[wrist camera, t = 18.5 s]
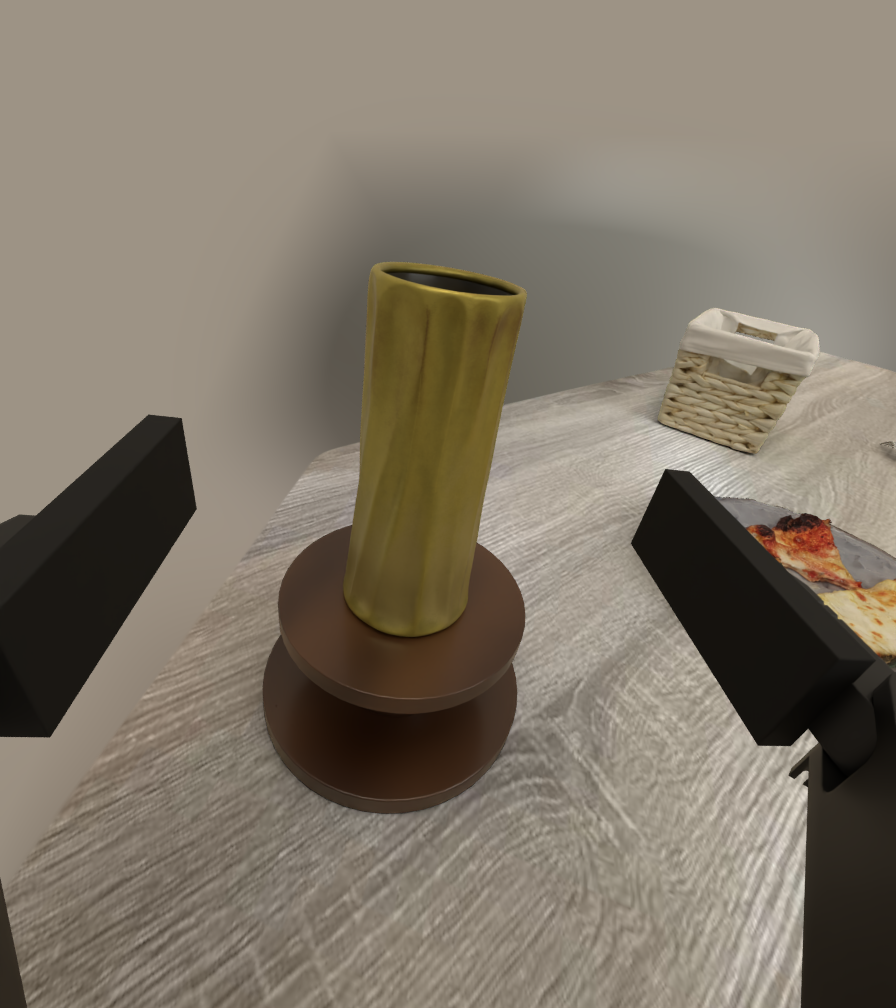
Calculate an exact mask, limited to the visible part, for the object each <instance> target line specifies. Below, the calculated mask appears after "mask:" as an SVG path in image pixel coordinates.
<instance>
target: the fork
mask: <svg viewBox="0 0 896 1008" xmlns="http://www.w3.org/2000/svg"><path fill="white" fill-rule="evenodd" d="M887 443H890V444H887ZM881 444H885V445H884V446H886V445H889V446H888V447H890V446H894V447H892V448H895V450H896V443H895V442H891V441H889V442H884V443H881Z"/></svg>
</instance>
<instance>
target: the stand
mask: <svg viewBox="0 0 896 1008" xmlns="http://www.w3.org/2000/svg"><path fill="white" fill-rule="evenodd" d="M351 531H352V525H351V526H347V527H344V528H341V529H338V530H336V531H333V532H331V533H329V534H327V535H325V536H323V537H321V538H320V539H318V540H317V541H315V542H313V543H312V544H311V545H309V546H308V547H307V548H306V549H304V550H303V551H302V552H301V553H300V554H299V555H298V556H297V558H296V559H295V560H294V561H293V563H292V564H291V565H290V567H289V568H288V570H287V572H286V574H285V576H284V578H283V580H282V584H281V587H280V591H279V599H278V612H279V624H280V632H281V635H280V637H279V638H278V640H277V642H276V643H275V645H274V647H273V649H272V651H271V654H270V656H269V658H268V661H267V665H266V669H265V673H264V681H263V704H264V714H265V720H266V724H267V729H268V733H269V735H270V738H271V740H272V743H273V745H274V747H275V749H276V751H277V752H278V754H279V756H280V757H281V759H282V761H283V762H284V764H285V765H286V766H287V767H288V768H289V769H290V771H291V772H292V773H293V774H294V775H295V776H296V777H297V778H298V779H299V780H300V781H302V782H303V783H304V784H305V785H306V786H307V787H308V788H310V789H311V790H313V791H315V792H316V793H318V794H319V795H321V796H323V797H324V798H326V799H328V800H331V801H333V802H335V803H338V804H340V805H342V806H345V807H349V808H353V809H357V810H360V811H366V812H374V813H405V812H411V811H417V810H423V809H426V808H429V807H432V806H435V805H438V804H441V803H443V802H445V801H447V800H449V799H451V798H453V797H455V796H457V795H459V794H460V793H462V792H463V791H465V790H466V789H468V788H469V787H471V786H472V785H473V784H474V783H475V782H476V781H478V780H479V779H480V778H481V777H482V776H483V775H484V774H485V773H486V772H487V771H488V769H489V768H490V767H491V765H492V764H493V763H494V762H495V760H496V759H497V757H498V755H499V753H500V752H501V750H502V748H503V746H504V744H505V741H506V739H507V736H508V734H509V731H510V728H511V726H512V723H513V720H514V716H515V711H516V706H517V684H516V676H515V672H514V668H513V664H512V662H513V660H514V658H515V655H516V653H517V651H518V648H519V645H520V642H521V639H522V636H523V632H524V627H525V607H524V601H523V598H522V595H521V591H520V589H519V587H518V585H517V583H516V581H515V579H514V578H513V576H512V575H511V573H510V572H509V570H508V569H507V568H506V567H505V566H504V564H503V563H502V562H501V561H500V560H499V559H498V558H497V557H496V556H494V555H493V554H492V553H491V552H490V551H488V550H487V549H486V548H484V547H483V546H482V545H480V544H478V543H477V542H476V547H475V552H474V558H473V563H472V568H471V574H470V580H469V589H468V601H467V604H466V607H465V609H464V611H463V613H462V614H461V616H460V617H459V618H458V619H457V620H456V621H455V622H454V623H453V624H451V625H450V626H448V627H447V628H445V629H443V630H441V631H438V632H435V633H432V634H429V635H425V636H418V637H404V636H396V635H391V634H387V633H384V632H381V631H379V630H376V629H375V628H373V627H371V626H370V625H368V624H367V623H365V622H364V621H362V620H361V619H359V618H358V617H357V616H356V615H355V614H354V613H353V612H352V611H351V609H350V608H349V606H348V604H347V603H346V600H345V597H344V591H343V581H344V576H345V573H346V566H347V559H348V552H349V545H350V537H351Z"/></svg>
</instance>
